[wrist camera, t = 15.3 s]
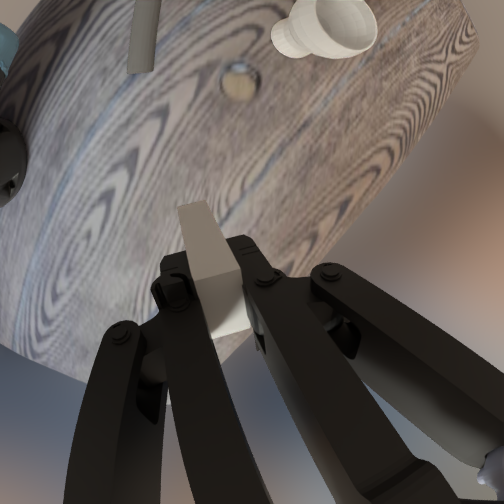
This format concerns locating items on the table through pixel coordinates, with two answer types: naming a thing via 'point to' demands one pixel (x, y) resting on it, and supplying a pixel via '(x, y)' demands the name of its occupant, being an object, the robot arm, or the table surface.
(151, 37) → the gray half cylinder
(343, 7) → the cup
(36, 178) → the table surface
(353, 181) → the table surface
